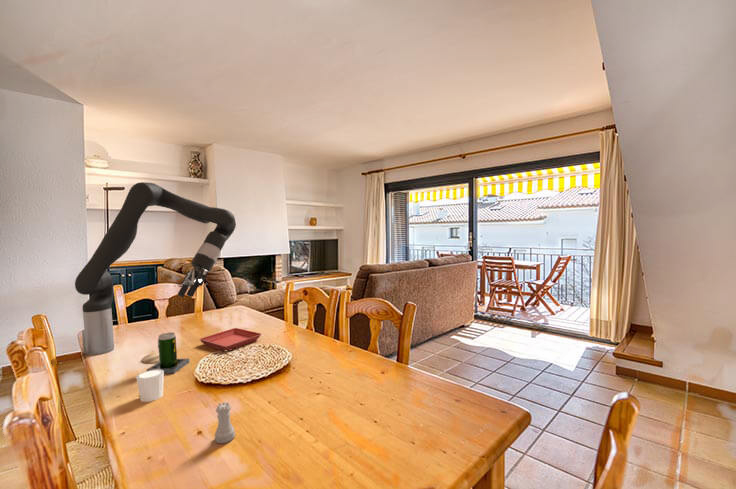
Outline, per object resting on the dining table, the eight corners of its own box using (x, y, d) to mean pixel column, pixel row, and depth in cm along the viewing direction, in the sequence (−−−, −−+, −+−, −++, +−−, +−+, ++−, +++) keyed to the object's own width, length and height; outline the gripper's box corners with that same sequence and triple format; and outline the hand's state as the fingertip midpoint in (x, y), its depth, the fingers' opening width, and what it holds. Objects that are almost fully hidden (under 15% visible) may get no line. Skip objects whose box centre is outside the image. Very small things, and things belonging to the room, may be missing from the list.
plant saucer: (262, 340, 152) (262, 333, 152) (226, 354, 137) (225, 346, 137) (235, 334, 162) (235, 327, 162) (198, 346, 147) (198, 339, 146)
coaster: (135, 363, 129) (135, 361, 129) (154, 352, 140) (154, 351, 140) (164, 363, 129) (164, 361, 129) (181, 352, 140) (181, 350, 140)
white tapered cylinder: (170, 393, 105) (169, 370, 104) (149, 404, 98) (148, 380, 98) (153, 390, 107) (152, 367, 107) (131, 401, 101) (130, 377, 100)
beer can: (160, 372, 120) (158, 338, 120) (159, 367, 125) (157, 334, 124) (178, 368, 123) (176, 334, 123) (176, 363, 128) (174, 331, 127)
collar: (146, 373, 119) (146, 369, 119) (164, 362, 129) (163, 358, 129) (174, 373, 119) (173, 369, 119) (189, 362, 128) (189, 358, 128)
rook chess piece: (218, 433, 83) (216, 400, 83) (237, 432, 84) (236, 399, 83) (211, 445, 79) (209, 410, 78) (232, 443, 79) (230, 409, 79)
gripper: (189, 253, 137) (167, 291, 130) (205, 250, 128) (182, 291, 121) (207, 263, 142) (186, 300, 135) (223, 260, 132) (201, 300, 125)
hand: (184, 296), depth 128 cm, fingers open, 8 cm apart
